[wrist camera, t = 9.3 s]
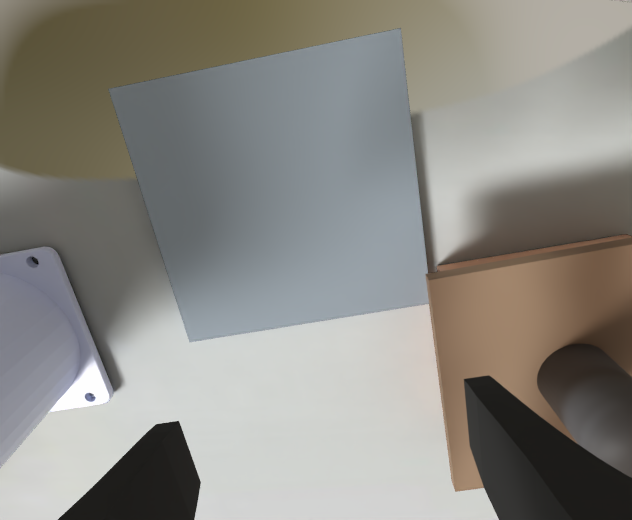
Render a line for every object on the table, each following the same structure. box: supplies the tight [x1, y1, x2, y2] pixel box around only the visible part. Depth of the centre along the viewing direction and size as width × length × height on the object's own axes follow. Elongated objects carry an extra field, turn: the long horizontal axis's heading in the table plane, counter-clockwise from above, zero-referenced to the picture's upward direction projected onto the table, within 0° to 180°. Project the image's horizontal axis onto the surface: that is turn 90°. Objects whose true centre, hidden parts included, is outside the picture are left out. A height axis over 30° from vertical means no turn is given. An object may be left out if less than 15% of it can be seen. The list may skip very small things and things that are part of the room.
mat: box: [108, 28, 429, 342], centre depth 19 cm, size 11×11×1 cm
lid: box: [425, 237, 632, 492], centre depth 16 cm, size 10×10×5 cm
